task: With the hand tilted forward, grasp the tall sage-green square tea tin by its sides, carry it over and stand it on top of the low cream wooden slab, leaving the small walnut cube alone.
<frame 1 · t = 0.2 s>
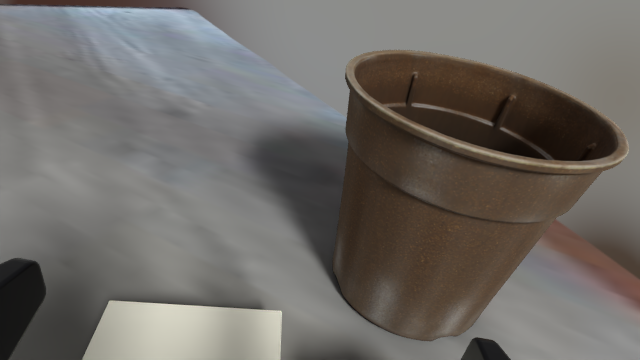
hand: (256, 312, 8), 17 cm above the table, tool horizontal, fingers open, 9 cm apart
plant pot: (403, 277, 33), on the table
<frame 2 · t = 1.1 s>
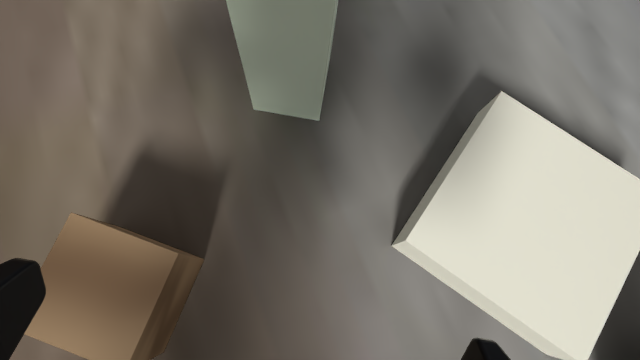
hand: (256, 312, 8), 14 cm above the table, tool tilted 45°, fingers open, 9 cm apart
walnut cube: (141, 287, 21), on the table
tea tin: (292, 85, 25), on the table
slab: (509, 225, 23), on the table
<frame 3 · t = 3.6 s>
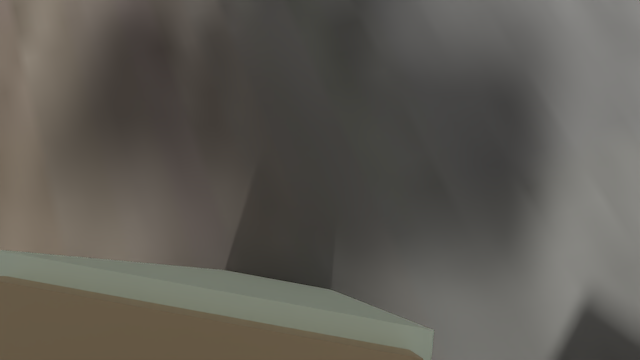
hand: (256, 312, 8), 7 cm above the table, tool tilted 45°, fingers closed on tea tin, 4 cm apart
tea tin: (266, 336, 14), on the table, touching gripper
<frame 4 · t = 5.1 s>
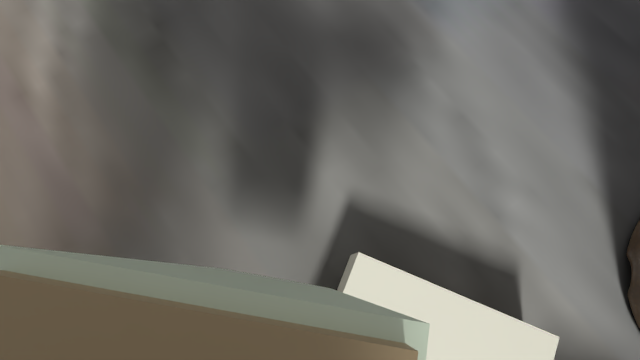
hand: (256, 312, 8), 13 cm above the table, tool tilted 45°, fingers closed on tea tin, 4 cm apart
tea tin: (265, 335, 14), point 7 cm above the table, touching gripper
when the fingers open (10 cm above the table, at t = 6.9 s): tea tin stays where it is, resting on slab.
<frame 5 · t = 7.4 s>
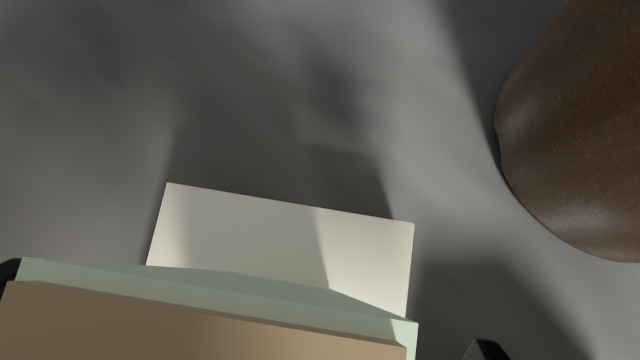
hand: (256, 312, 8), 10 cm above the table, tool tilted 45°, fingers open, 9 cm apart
tea tin: (267, 334, 15), point 3 cm above the table, touching slab
plant pot: (602, 140, 21), on the table
slab: (272, 325, 18), on the table
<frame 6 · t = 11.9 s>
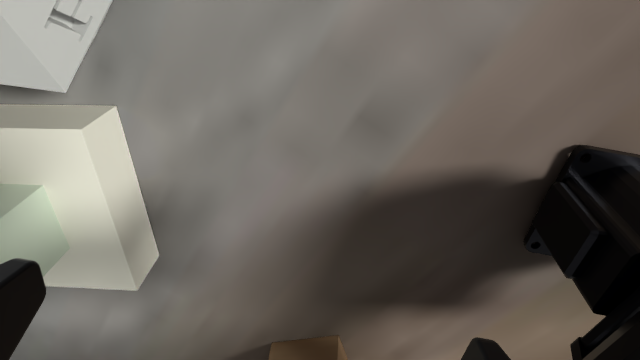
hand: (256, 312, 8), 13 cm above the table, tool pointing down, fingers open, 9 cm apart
walnut cube: (314, 359, 30), on the table
tea tin: (20, 216, 21), point 3 cm above the table, touching slab
slab: (57, 186, 23), on the table
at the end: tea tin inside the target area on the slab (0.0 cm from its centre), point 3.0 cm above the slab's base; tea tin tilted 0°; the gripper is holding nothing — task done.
